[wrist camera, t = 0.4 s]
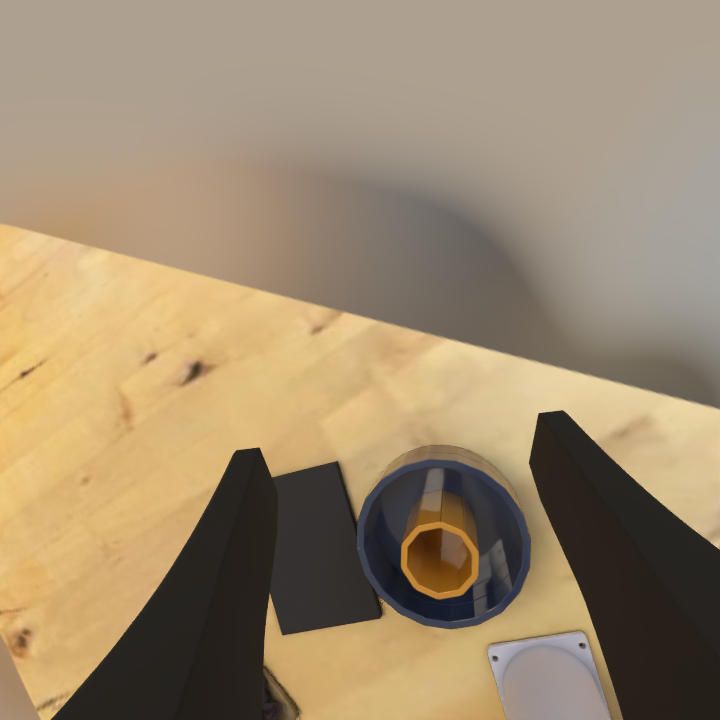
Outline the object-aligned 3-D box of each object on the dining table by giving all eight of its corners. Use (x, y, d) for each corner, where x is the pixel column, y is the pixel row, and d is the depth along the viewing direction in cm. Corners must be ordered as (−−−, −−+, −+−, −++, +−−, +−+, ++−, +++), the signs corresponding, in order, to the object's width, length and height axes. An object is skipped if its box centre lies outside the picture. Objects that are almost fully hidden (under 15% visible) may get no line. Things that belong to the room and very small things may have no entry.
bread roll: (305, 708, 43) (292, 742, 39) (247, 760, 44) (229, 797, 41) (228, 621, 44) (208, 646, 40) (174, 674, 45) (150, 703, 42)
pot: (540, 578, 38) (552, 613, 33) (392, 604, 41) (383, 640, 36) (495, 428, 38) (501, 441, 33) (351, 464, 41) (337, 481, 36)
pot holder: (382, 613, 41) (380, 618, 40) (285, 630, 43) (282, 635, 42) (337, 460, 41) (335, 463, 40) (243, 484, 43) (239, 487, 42)
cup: (483, 545, 38) (489, 590, 31) (419, 558, 39) (411, 604, 32) (465, 484, 38) (467, 515, 31) (401, 498, 39) (390, 531, 33)
